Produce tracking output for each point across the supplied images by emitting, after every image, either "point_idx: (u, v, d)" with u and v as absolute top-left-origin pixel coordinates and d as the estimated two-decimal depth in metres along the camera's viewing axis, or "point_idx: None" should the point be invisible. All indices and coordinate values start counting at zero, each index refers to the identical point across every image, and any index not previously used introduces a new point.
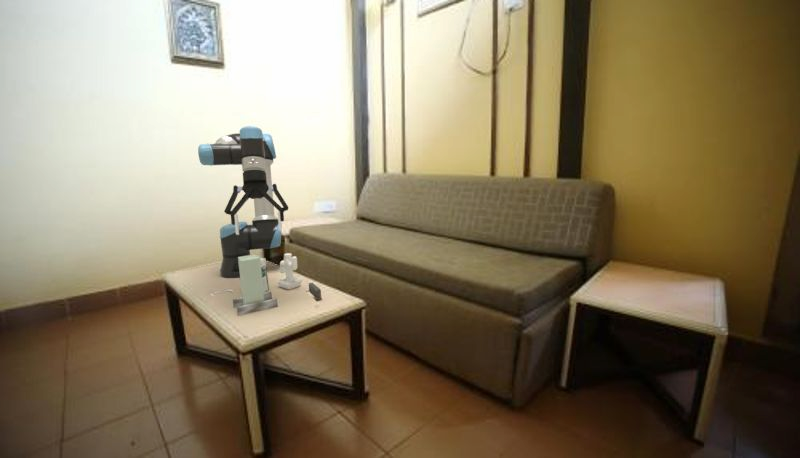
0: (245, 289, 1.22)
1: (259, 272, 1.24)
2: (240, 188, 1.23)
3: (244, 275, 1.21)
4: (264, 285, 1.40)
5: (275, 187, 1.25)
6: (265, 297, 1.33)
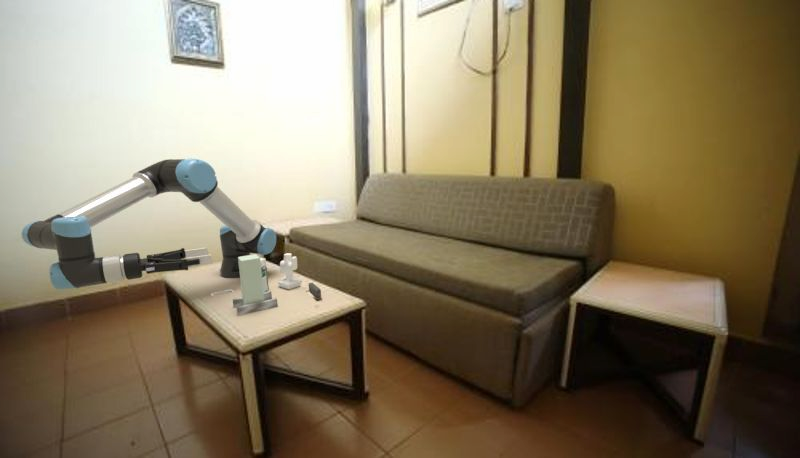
0: (245, 289, 1.22)
1: (259, 272, 1.24)
2: None
3: (244, 275, 1.21)
4: (264, 285, 1.40)
5: None
6: (265, 297, 1.33)
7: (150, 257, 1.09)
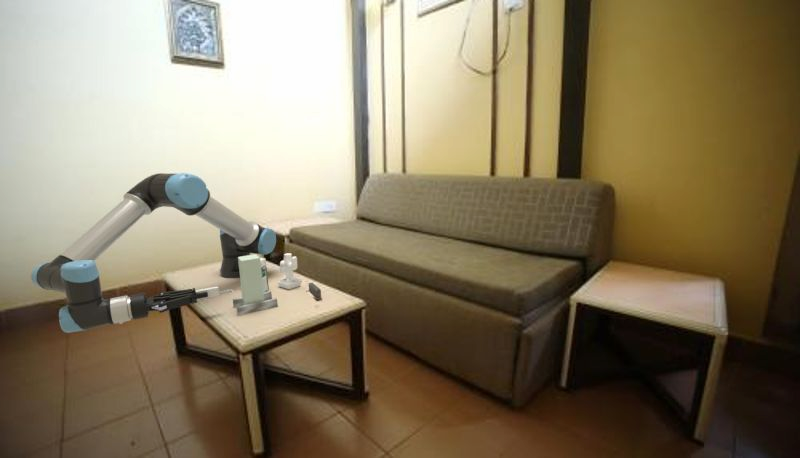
0: (245, 289, 1.22)
1: (259, 272, 1.24)
2: None
3: (244, 275, 1.21)
4: (264, 285, 1.40)
5: None
6: (265, 297, 1.33)
7: (155, 296, 1.11)
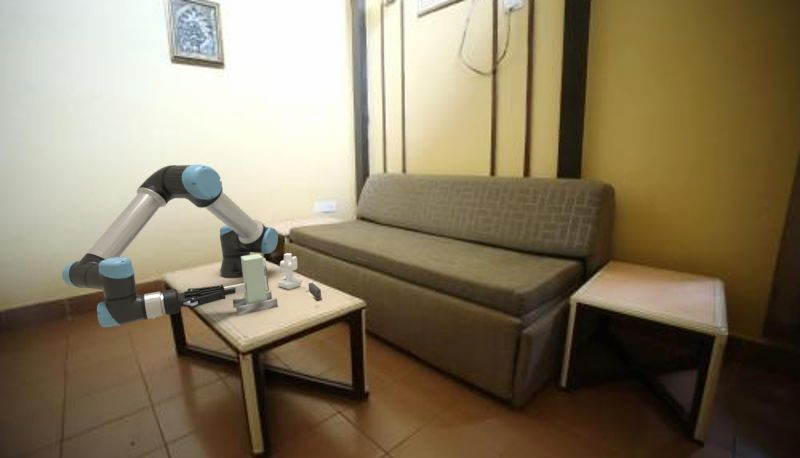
0: (248, 288, 1.23)
1: (262, 271, 1.24)
2: None
3: (247, 274, 1.22)
4: None
5: None
6: None
7: (185, 293, 1.15)
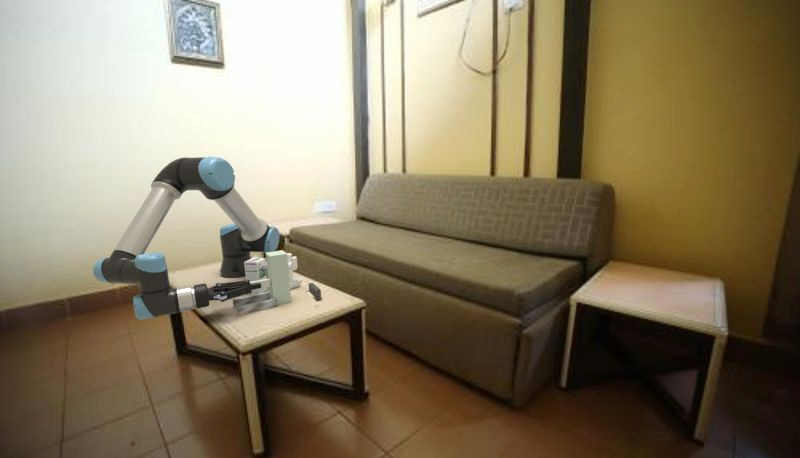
0: (273, 283, 1.27)
1: (286, 267, 1.29)
2: None
3: (272, 270, 1.26)
4: None
5: None
6: (265, 297, 1.33)
7: (214, 287, 1.19)
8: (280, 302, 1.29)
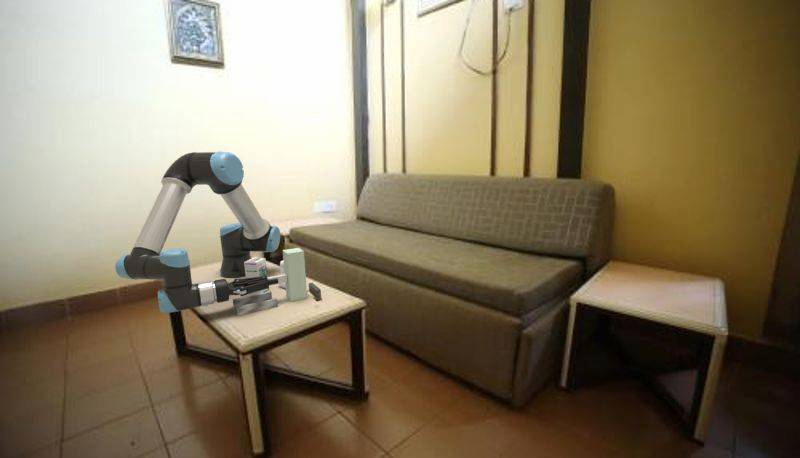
0: (290, 280, 1.30)
1: (303, 264, 1.32)
2: None
3: (290, 267, 1.29)
4: None
5: None
6: (265, 297, 1.33)
7: (233, 282, 1.23)
8: (296, 298, 1.33)
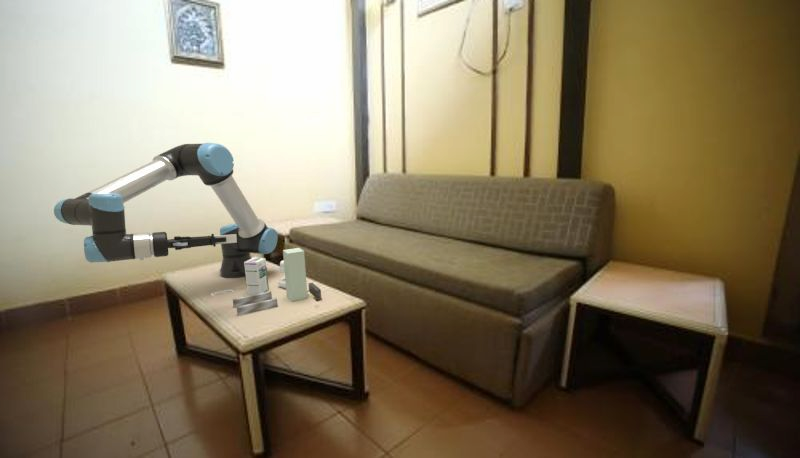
0: (290, 280, 1.30)
1: (303, 264, 1.32)
2: None
3: (290, 267, 1.29)
4: (264, 285, 1.40)
5: (185, 247, 1.10)
6: (265, 297, 1.33)
7: None
8: (297, 298, 1.33)
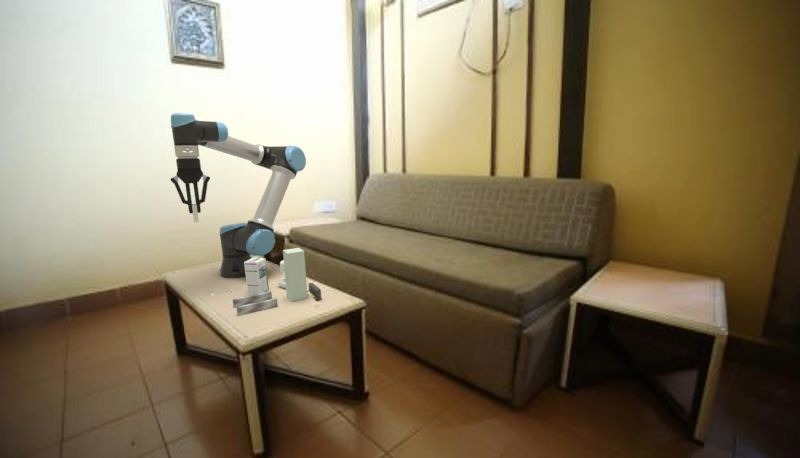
0: (290, 280, 1.30)
1: (303, 264, 1.32)
2: (176, 177, 1.30)
3: (290, 267, 1.29)
4: (264, 285, 1.40)
5: (207, 180, 1.35)
6: (265, 297, 1.33)
7: None
8: (297, 298, 1.33)
